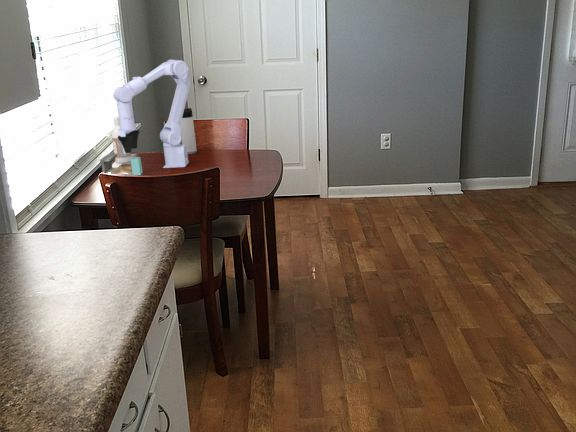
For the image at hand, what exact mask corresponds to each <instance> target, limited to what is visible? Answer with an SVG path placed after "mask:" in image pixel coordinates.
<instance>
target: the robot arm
mask: <svg viewBox="0 0 576 432" xmlns="http://www.w3.org/2000/svg"><path fill="white" fill-rule="evenodd" d="M163 76H171V77H172V79H173V80H174V82H175V83H176V88H175V92H174V96H173V100H172V104H171V107H170V112H169V115H168V119H167V121H166V123H164V126H163V128H162V129H161V130H160V133H159V139H160V140H161V142H162V143H163V144H162V145H163V146H162V148H163V155H164V162H165V165H164V166H163V167H162V168H163V169H170V168H171V169H172V168H173V169H174V168H185V167H187V165H188V164H189V163H190V161H189V154H187V147H186V145H182V135H181V132H182V128H181V125H180V124H181V120H182V116H183V112H184V109H186V108H185V107H186V104H187V100H188V96H189V92H190V89H191V84H192V82H191V77H190V68H189V66H188V64H187V63H186V62H185V61H184V60H179V59H168V60H166V61H164V62H162V63H161V64H160V65H158V66H157V67H156V68H154V69H152V70H151V71H150V72H148V73H147V74H146V75H144V76H143V77H141V76H133V77H132V78H131V79H132V80H130V81H128V82H127V83H123V84H122V86H118V87H117V88H115V89H114V92H113V95H112V96H113V99H114V100H115V101H116V107H117V114H118V117H119V121H120V127H121V128H119V129H118V131H121V132H120V136H118V139H119V140H120V142H121V143H122V145H123V148H124V150H125V152H126V153H131V154H132V150H133V149H137V148H138V138H139V136H140V135H139V134H140V133H141V132H140V129H137V125H136V124H135V117H134V110H133V105H132V100H133V97H135V96H137V95H138V94H140V93H142V92H144V91H145V90H146V89H147V87H148V85H149V84H151V83H152V82H154V81H156V80H157V79H159V78H161V77H163Z"/></svg>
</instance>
